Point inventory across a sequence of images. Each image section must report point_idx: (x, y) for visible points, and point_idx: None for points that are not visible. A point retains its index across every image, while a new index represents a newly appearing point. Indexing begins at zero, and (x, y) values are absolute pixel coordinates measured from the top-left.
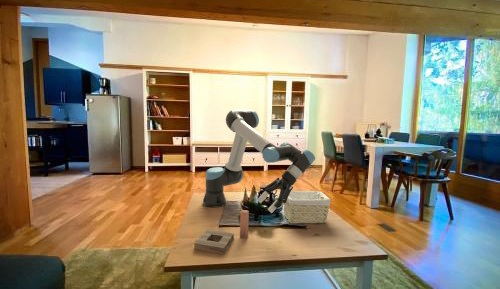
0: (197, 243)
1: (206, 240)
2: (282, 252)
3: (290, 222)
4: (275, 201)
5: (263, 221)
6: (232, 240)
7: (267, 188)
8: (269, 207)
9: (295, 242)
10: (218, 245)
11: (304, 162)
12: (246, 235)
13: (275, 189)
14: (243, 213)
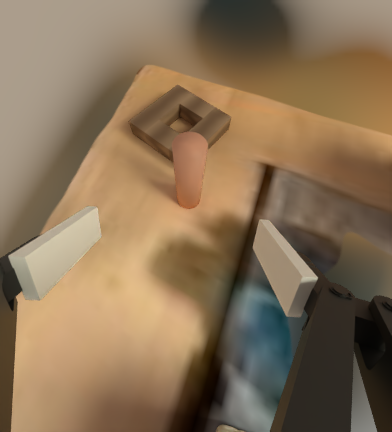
0: (173, 88)
1: (178, 103)
2: None
3: (217, 427)
4: (34, 242)
5: (271, 306)
6: None
7: (344, 312)
8: (87, 212)
9: (79, 336)
10: (145, 115)
11: None
12: (177, 196)
13: (273, 420)
14: (176, 137)
